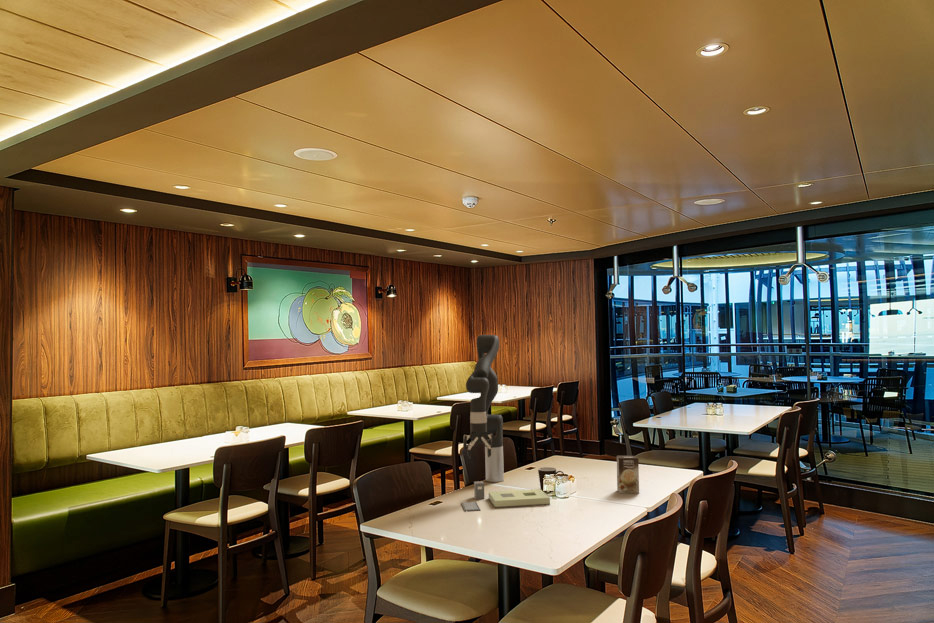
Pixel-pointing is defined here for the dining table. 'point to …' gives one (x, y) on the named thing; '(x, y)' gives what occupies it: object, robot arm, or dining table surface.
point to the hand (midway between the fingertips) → (479, 457)
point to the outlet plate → (519, 498)
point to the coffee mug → (546, 470)
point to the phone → (470, 506)
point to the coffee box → (627, 474)
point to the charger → (479, 490)
